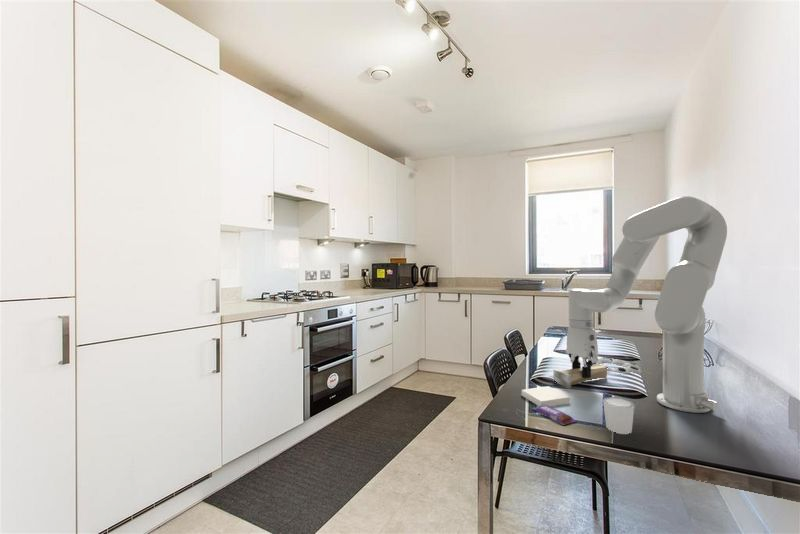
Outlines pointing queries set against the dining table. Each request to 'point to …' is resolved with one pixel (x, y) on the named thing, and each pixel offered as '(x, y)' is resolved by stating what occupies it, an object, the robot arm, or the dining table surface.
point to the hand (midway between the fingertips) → (581, 375)
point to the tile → (545, 396)
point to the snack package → (555, 414)
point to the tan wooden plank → (578, 375)
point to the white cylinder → (618, 414)
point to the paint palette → (619, 362)
